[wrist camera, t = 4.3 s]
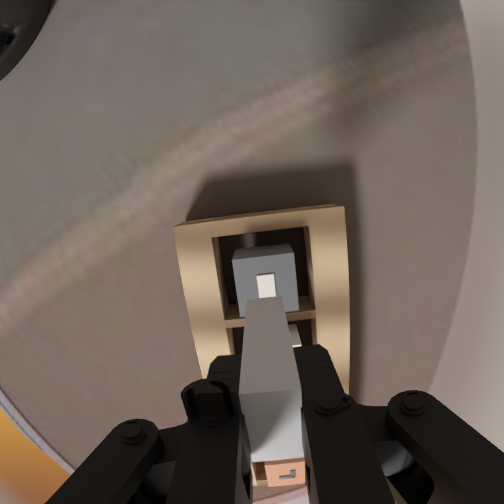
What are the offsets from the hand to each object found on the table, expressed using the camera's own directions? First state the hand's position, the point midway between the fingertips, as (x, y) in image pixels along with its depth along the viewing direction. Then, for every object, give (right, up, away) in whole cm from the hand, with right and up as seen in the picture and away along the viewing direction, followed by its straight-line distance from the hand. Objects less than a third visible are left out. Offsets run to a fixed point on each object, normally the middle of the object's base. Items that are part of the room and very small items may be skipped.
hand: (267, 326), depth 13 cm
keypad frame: (+1, -7, +12) cm, 13 cm away
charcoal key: (0, +2, +8) cm, 8 cm away
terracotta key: (+2, -16, +12) cm, 20 cm away
